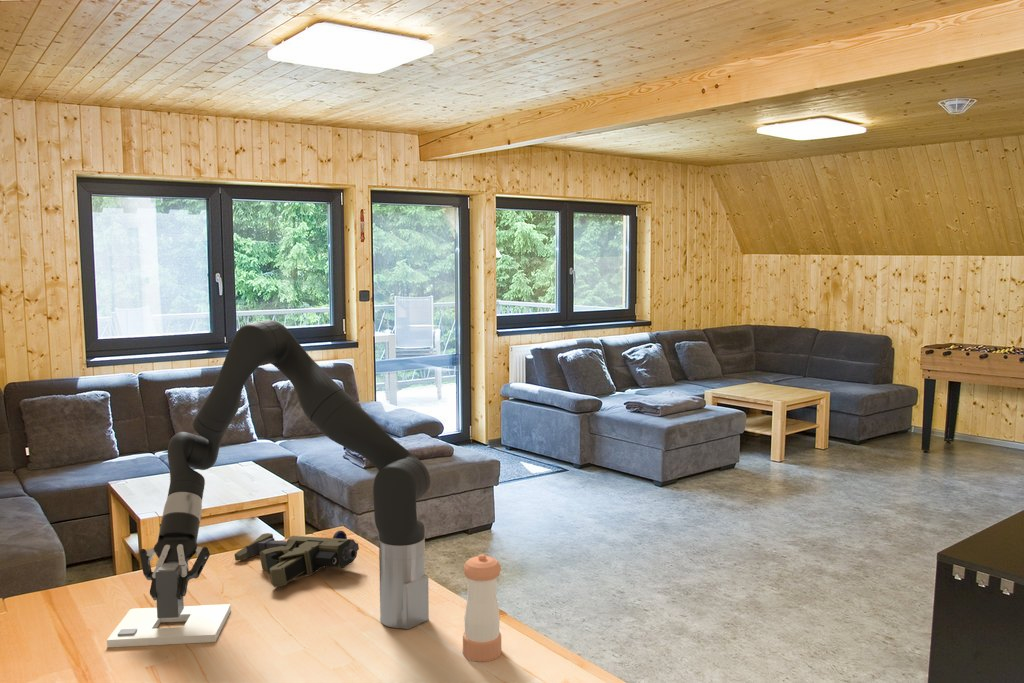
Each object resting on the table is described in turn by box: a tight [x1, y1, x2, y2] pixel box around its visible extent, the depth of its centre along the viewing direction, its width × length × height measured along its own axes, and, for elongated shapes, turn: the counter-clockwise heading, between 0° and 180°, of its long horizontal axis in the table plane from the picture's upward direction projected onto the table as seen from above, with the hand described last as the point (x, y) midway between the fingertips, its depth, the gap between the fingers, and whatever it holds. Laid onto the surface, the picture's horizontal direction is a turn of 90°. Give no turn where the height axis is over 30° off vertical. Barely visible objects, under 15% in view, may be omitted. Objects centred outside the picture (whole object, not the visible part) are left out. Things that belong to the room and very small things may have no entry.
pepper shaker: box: [462, 553, 502, 663], centre depth 158 cm, size 7×7×19 cm
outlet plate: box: [106, 603, 232, 648], centre depth 169 cm, size 20×14×2 cm
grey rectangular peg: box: [155, 563, 185, 618], centre depth 168 cm, size 4×4×10 cm
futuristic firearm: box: [234, 530, 360, 588], centre depth 200 cm, size 7×31×25 cm
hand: (167, 598), depth 166 cm, fingers closed on grey rectangular peg, 4 cm apart
